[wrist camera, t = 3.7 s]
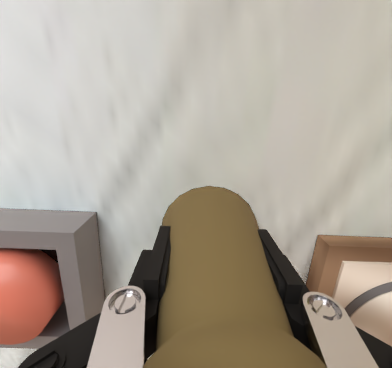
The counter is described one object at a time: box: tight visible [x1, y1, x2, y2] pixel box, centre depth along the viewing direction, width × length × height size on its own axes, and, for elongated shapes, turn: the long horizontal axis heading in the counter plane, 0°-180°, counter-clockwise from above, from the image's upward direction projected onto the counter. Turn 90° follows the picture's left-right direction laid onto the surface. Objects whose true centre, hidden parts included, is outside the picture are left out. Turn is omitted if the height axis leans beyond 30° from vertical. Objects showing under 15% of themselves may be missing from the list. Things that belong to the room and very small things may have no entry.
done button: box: [0, 248, 65, 345], centre depth 12 cm, size 5×5×2 cm
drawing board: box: [306, 235, 392, 346], centre depth 14 cm, size 12×11×2 cm
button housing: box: [0, 208, 105, 349], centre depth 13 cm, size 8×8×2 cm
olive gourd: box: [143, 186, 327, 368], centre depth 8 cm, size 6×6×11 cm
